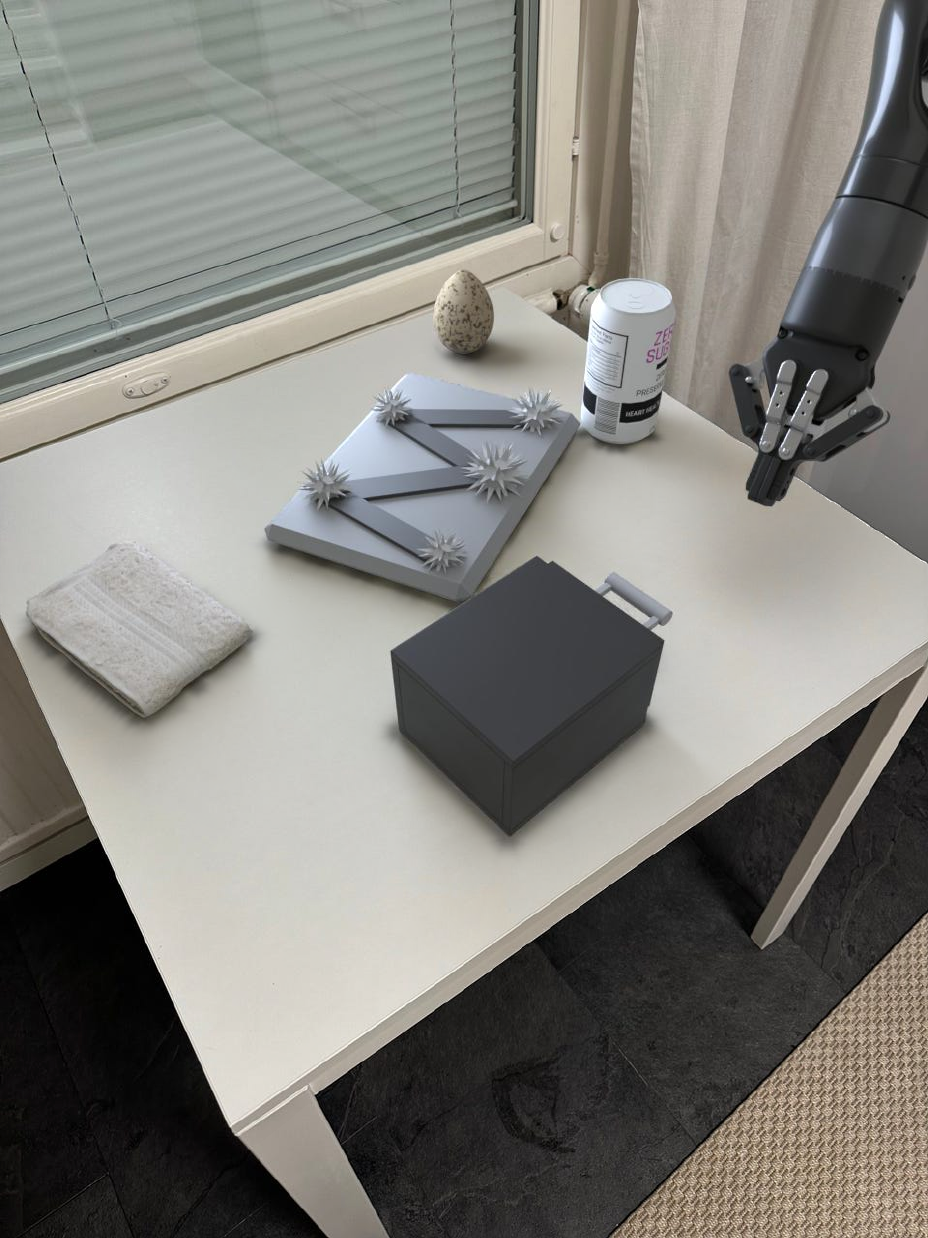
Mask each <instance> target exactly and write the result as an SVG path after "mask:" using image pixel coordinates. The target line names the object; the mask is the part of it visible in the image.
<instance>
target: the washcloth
mask: <svg viewBox="0 0 928 1238" xmlns="http://www.w3.org/2000/svg"><path fill="white" fill-rule="evenodd" d="M26 604H27V606H26V612H25V614H26V618H28V619H29V621H31V623H33V625H35V627H37V631H38V633H39V634H40V636H41V637H42V638H43V639H44V640H45V641H46V642H48V644H49V645H50V646H52V647H53V648H54V649H56V650H57V651H58V652H60V653H61V654H63V655H64V656H65V657H66V658H68V660H69V661H71V662H72V663H73V664H74V665H75V666H76V667H78V668H79V669H80V670H81V671H82V672H83V673H85V674H86V675H87V676H88V677H89V678H91V679H92V680H95V682H97V683H98V684H99V685H101V687H103V688H104V689H105V690H107V692H109V693H110V694H111V695H113V696H114V697H115V698H116V699H117V700H119V702H121V703H122V704H123V705H124V706H125V707H127V708H128V709H129V710H131V711H132V712H134V713H135V714H137V715H138V716H139V717H142V718H148V717H149V716H151V715H153V714H154V713H156V712H158V711H159V710H160V709H162V708H163V707H165V706H166V705H167V704H168V703H169V702H171V701H172V700H173V699H174V698H175V697H177V696H179V694H180V693H181V692H182V690H183V689H184V687H186V686H187V685H189V683H191V682H193V681H194V680H195V679H196V678H198V677H200V676H201V675H202V674H203V673H204V672H206V671H210V670H213V668H214V667H215V666H217V665H219V663H220V662H221V661H223V660H225V659H226V658H227V657H228V656H229V655H231V654H232V653H233V652H235V651H236V650H237V649H238V648H239V647H241V646H242V645H243V644H244V643H245V642H247V641H248V639H250V638H251V635H252V634H253V633H254V631H253V629H251V627H250V625H249V624H248V622H245V619H244V618H243V617H240V616H239V615H238V614H236V613H235V612H234V611H233V610H230V609H229V608H228V607H225V605H224V604H223V603H220V602H218V601H217V599H215V598H214V597H213V596H210V595H209V594H208V593H207V592H204V591H203V589H201V588H199V587H198V586H196V585H195V583H193V581H192V580H191V579H190V580H188V579H187V578H186V577H184V576H182V575H181V574H180V573H178V572H177V571H176V570H175V569H173V568H171V567H170V566H168V565H166V564H165V563H164V562H163V561H162V560H160V559H159V558H157V557H155V555H153V554H151V552H149V550H148V549H147V548H144V547H143V546H142V545H140V544H138V543H137V542H136V541H132V540H124V541H122V542H121V543H120V542H119V543H113V544H110V545H109V546H108V548H107V549H106V550H105V551H104V552H103V553H102V554H101V555H99V556H98V557H96V558H95V559H93V560H91V562H89V563H87V564H85V565H83V566H81V567H80V568H78V569H77V570H75V571H73V572H71V573H70V574H68V575H67V576H65V577H62V579H59V580H57V581H55V582H54V583H52V584H50V585H49V586H47V587H46V588H45V589H43V590H42V591H40V592H38V593H37V594H35V595H34V596H32V597H29V598H27V600H26Z"/></svg>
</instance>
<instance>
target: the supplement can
mask: <svg viewBox="0 0 928 1238" xmlns="http://www.w3.org/2000/svg"><path fill="white" fill-rule="evenodd" d="M590 307H591V308H590V316H589V317H590V318H589V327H588V337H587V345H586V355H585V357H586V358H585V368H584V378H583V386H582V398H581V407H580V421H581V422H580V423H581V425H582V426H583V428H584V429H585V430H586V431H587V432H588V433H589V434H590V435H591V436H593V437H594V438H596V439H597V440H599V441H601V442H605V443H609V444H613V445H614V444H615V445H627V444H634V443H637V442H639V441H641V440H643V439H645V438H646V437H649V436H650V435H651V434H652V433H653V432H654V431H655V430H656V427H657V423H658V420H659V413H660V409H661V408H660V407H661V402H662V396H663V390H664V385H665V380H666V379H665V378H666V374H667V373H666V372H667V367H668V361H669V356H670V350H671V344H672V339H673V335H674V334H673V333H674V328H675V322H676V316H677V311H676V308H675V305H674V302H673V295H672V293H671V291H670V290H669V289H668V288H667V287H666V286H664V285H663V284H662V283H661V284H660V283H658V282H656V281H653V280H650V279H646V278H636V277H634V278H633V277H628V278H618V279H616V280H615V279H614V280H612V281H609V282H607V283H606V284H604V285H603V286H602V287H601V288H600V291H599V293H598V294H597V296H596V297H595V299H594V301H593V303H592V304H591V306H590Z"/></svg>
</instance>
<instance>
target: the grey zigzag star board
mask: <svg viewBox="0 0 928 1238" xmlns="http://www.w3.org/2000/svg"><path fill="white" fill-rule="evenodd" d="M530 388H531V389H530ZM530 388H528V394H527V392H526V391H525V390H523V392H524V397H525V398H524V397H523V396H522V395H521V394H518V396H519V398H520V399H519V398H518V397H509V396H505V395H501V394H497V393H493V392H489V391H484V390H480V389H476V388H473V387H469V386H464V385H461V384H456V383H453V382H448V381H445V380H441V379H437V378H433V377H429V376H424V375H421V374H417V373H412V372H408V373H406V374H405V375H404V376H402V377H401V378H400V379H399V380H398V381H397V382H396V384H394V385H393V387H392V388H391V389H390V388H389V386H387V389H386V388H384V390H383V394H384V396H383V395H381V394H380V393H379V392H377V394H376V396H377V397H376V396H374V395H373V398H374V399H375V400H376V401H377V402H376V404H371V406H372V407H373V408H372V409H371V410H370V412H369V413H368V414H367V415H366V416H365V417H364V418H363V420H362V421H361V422H360V423H359V424H358V425H357V426H356V428H354V429H353V431H352V432H351V433H349V435H348V436H347V437H346V438H345V439H344V440H343V441H342V443H341V444H340V445H339V446H338V447H337V448H336V449H335V451H333V453H332V454H330V455H329V457H328V458H327V459H326V460H325V461H324V462H323V460H322V458H320V464H321V466H320V465H319V464H318V461H315V463H316V464H315V465H316V468H317V469H316V471H315V472H314V471H313V470H311V469H309V468H308V467H306V466H305V468H306V469H307V471H308V472H309V473H310V474H309V473H306V472H305V471H303V470H301V472H302V473H303V474H304V476H306V479H307V481H297V483H299V484H302V485H301V486H300V487H301V488H298V491H297V492H296V493H295V494H294V495H293V496H292V497H291V499H289V501H288V502H287V503H286V504H285V505H284V506H283V507H282V508H281V509H280V510H279V512H278V513H277V514H276V515H275V516H274V517H273V518H272V519H271V520H270V521H269V522H268V524H267V525H266V526H265V527H264V528H263V530H264V533H265V536H266V538H267V541H269V542H273V543H276V544H279V545H282V546H285V547H288V548H291V549H294V550H297V551H300V552H304V553H307V554H309V555H312V556H316V557H318V558H322V559H324V560H327V561H330V562H334V563H337V564H340V565H343V566H346V567H349V568H351V569H355V570H359V571H361V572H364V573H367V574H370V575H373V576H377V577H379V578H383V579H386V580H388V581H392V582H395V583H397V584H401V585H404V586H406V587H410V588H412V589H413V588H414V589H417V590H419V591H422V592H425V593H428V594H432V595H434V596H435V595H436V596H438V597H441V598H444V599H447V600H450V601H453V602H459V603H461V602H464V601H465V600H466V601H467V600H469V599H470V598H472V597H473V596H474V593H476V590H477V589H478V587H479V586H480V584H481V582H482V581H483V579H484V578H485V576H486V575H487V574H488V572H489V570H490V568H491V567H492V565H493V564H494V562H495V560H496V559H497V557H498V556H499V554H500V553H501V551H502V549H503V548H504V546H505V544H506V543H507V542H508V540H509V538H510V537H511V535H512V533H513V532H514V530H515V529H516V527H517V526H518V524H519V522H520V521H521V519H522V518H523V516H524V515H525V513H526V511H527V510H528V508H529V507H530V505H531V503H532V501H533V500H534V499H535V497H536V495H537V494H538V492H539V491H540V489H541V487H542V486H543V484H544V483H545V481H546V480H547V478H548V476H550V473H551V472H552V470H553V469H554V467H555V465H556V464H557V462H558V461H559V459H560V457H561V456H562V454H563V453H564V451H565V449H566V448H567V446H568V445H569V444H570V442H571V441H572V439H573V437H574V435H575V434H576V432H577V430H578V429H579V428H580V426H581V422H580V421H579V420H578V419H577V417H576V416H575V415H574V414H573V413H572V412H571V411H565V410H560V409H559V408H560V407H562V406H563V405H564V403H562V404H560V402H558V400H559V399H560V397H558V398H556V399H554V400H552V401H551V399H549V398H550V395H551V392H552V389H550V390H549V391H548V392H547V393H546V394H545V396H544V387H542V388H541V390H540V393H539V390H537V391H536V394H535V391H534V388H533V386H532V385H531V387H530ZM556 402H558V403H556Z"/></svg>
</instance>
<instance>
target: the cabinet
mask: <svg viewBox="0 0 928 1238" xmlns="http://www.w3.org/2000/svg"><path fill="white" fill-rule="evenodd" d="M548 563H549V562H547V561H545V560H544V559H543V558H541V557H540V556H538V555H534V556H533V557H532V558H531V559H529V560H527V561H526V562H524V563H522V564H521V565H519V566H518V567H516V568H515V569H514V570H512V571H510V572H509V573H507V574H505V575H504V576H503V577H501V578H499V579H498V580H497V581H495V582H494V583H492V584H490V585H489V586H487V587H486V588H485V589H482V590H481V591H480V592H478V593H476V594H475V595H472V597H471V598H468V599H466V601H463V603H461V604H460V605H459V606H457V607H455V608H454V609H451V610H450V611H449V612H448V613H445V614H444V615H443V616H441V617H440V618H438V619H436V620H435V621H433V622H432V623H430V624H429V625H427V626H426V627H424V628H423V629H421V630H420V631H418V632H416V633H415V634H414V635H412V636H410V637H409V638H407V639H406V640H404V641H403V642H401V643H400V644H398V645H396V646H395V647H393V648H392V649H390V651H389V652H390V662H391V670H392V679H393V689H394V697H395V705H396V707H395V708H396V717H397V722H398V723H397V724H398V731H399V732H401V734H403V736H405V738H407V739H408V740H409V741H410V742H411V743H412V744H413V745H414V746H415V747H416V748H417V749H418V750H419V751H420V752H421V753H422V754H423V755H424V756H425V757H426V758H427V759H428V760H429V761H431V763H433V764H434V766H435V767H436V768H437V769H439V771H441V772H442V773H443V774H444V775H445V776H446V777H447V778H448V779H449V780H450V781H451V782H452V783H453V784H454V785H455V786H456V787H457V788H459V790H460V791H461V792H462V793H463V794H464V795H466V796H467V797H468V798H469V800H471V801H472V802H473V803H474V804H475V805H476V806H477V807H478V808H479V809H480V810H481V811H482V812H483V813H484V814H485V815H486V816H487V817H489V819H491V821H493V822H494V824H496V825H497V827H499V829H501V831H503V832H504V833H505V834H506V835H507V836H508V837H511V836H513V835H514V834H515V833H516V832H517V831H519V830H520V829H521V828H523V826H524V825H526V824H527V823H528V822H530V821H531V820H532V819H533V818H534V817H536V816H537V815H538V814H539V813H540V812H542V811H543V810H544V809H545V808H546V807H547V806H549V805H550V804H552V802H554V801H555V800H556V799H557V798H558V797H560V796H561V795H562V794H563V793H564V792H566V791H567V790H568V789H569V788H570V787H572V786H573V785H574V784H575V783H576V782H578V781H579V780H580V779H581V778H582V777H584V776H585V775H586V774H587V773H589V772H590V771H591V770H593V768H594V767H596V766H597V765H598V764H599V763H600V762H602V761H603V760H604V759H605V758H607V756H609V755H610V754H611V753H612V752H613V751H615V750H617V748H619V747H620V746H621V745H622V744H624V742H626V741H627V740H628V739H629V738H631V737H632V736H633V735H634V734H635V733H637V732H638V731H639V730H640V729H642V728H643V726H644V725H645V722H646V717H647V713H648V708H649V707H648V705H649V701H650V696H651V692H652V687H653V683H654V679H655V674H656V670H657V666H658V661H659V657H660V652H661V648H662V645H661V644H660V643H658V642H657V641H655V640H654V639H653V638H651V637H650V636H648V635H647V634H646V633H644V632H643V631H641V630H640V629H639V628H637V627H636V626H635V625H633V624H632V623H630V622H629V621H628V620H626V619H625V618H623V617H622V616H621V615H619V614H618V613H616V612H615V611H614V610H612V609H611V608H609V607H608V606H607V605H605V604H604V603H602V602H601V601H600V600H598V599H597V598H595V597H594V596H593V595H591V594H590V593H588V592H587V591H586V590H584V589H583V588H581V587H580V586H579V585H577V584H576V583H575V582H573V581H572V580H570V579H569V578H568V577H566V576H565V575H563V574H562V573H561V572H559V571H558V570H556V569H555V568H554V567H552V566H551V565H549V564H548Z"/></svg>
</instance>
